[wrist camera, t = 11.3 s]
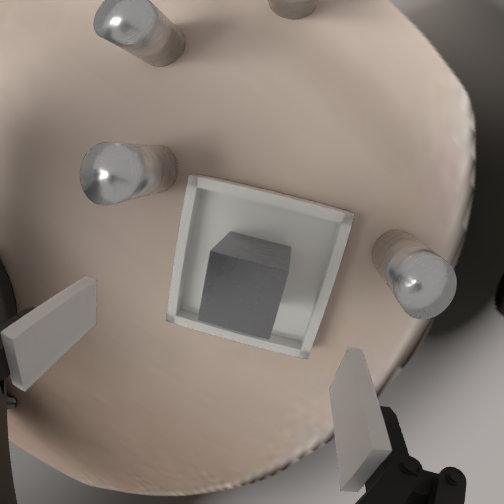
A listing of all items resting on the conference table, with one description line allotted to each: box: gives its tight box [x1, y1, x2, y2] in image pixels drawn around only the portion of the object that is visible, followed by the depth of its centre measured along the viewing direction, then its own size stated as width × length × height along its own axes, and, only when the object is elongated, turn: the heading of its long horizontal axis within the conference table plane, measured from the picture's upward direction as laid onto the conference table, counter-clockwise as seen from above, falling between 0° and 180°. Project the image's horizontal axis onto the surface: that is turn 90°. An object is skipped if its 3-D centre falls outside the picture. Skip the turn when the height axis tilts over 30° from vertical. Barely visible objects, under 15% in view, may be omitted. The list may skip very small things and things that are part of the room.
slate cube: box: [198, 231, 291, 340], centre depth 23 cm, size 5×5×6 cm
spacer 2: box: [80, 142, 178, 206], centre depth 22 cm, size 4×4×8 cm
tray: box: [166, 174, 354, 359], centre depth 26 cm, size 13×13×2 cm
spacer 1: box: [94, 0, 185, 66], centre depth 19 cm, size 4×4×8 cm
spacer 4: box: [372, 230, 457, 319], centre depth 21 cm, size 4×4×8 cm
